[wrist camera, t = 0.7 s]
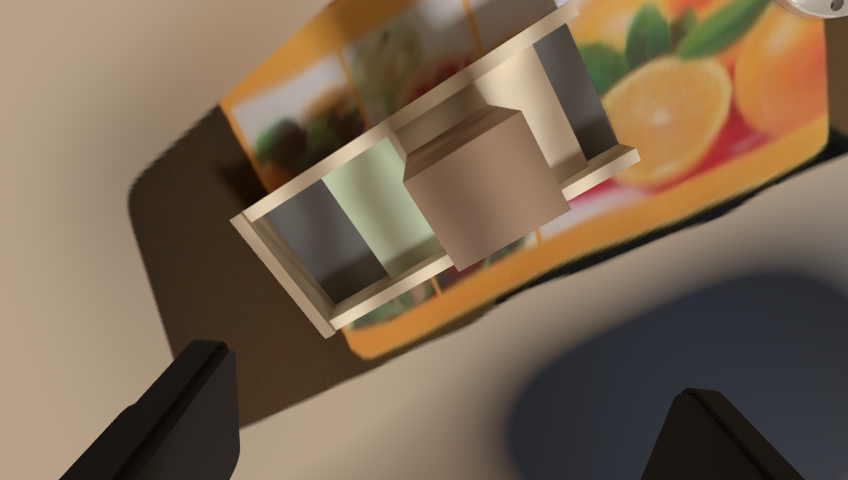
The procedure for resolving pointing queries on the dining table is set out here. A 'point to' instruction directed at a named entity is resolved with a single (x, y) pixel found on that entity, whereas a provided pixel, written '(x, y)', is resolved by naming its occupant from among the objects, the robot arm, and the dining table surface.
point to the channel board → (384, 169)
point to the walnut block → (483, 184)
